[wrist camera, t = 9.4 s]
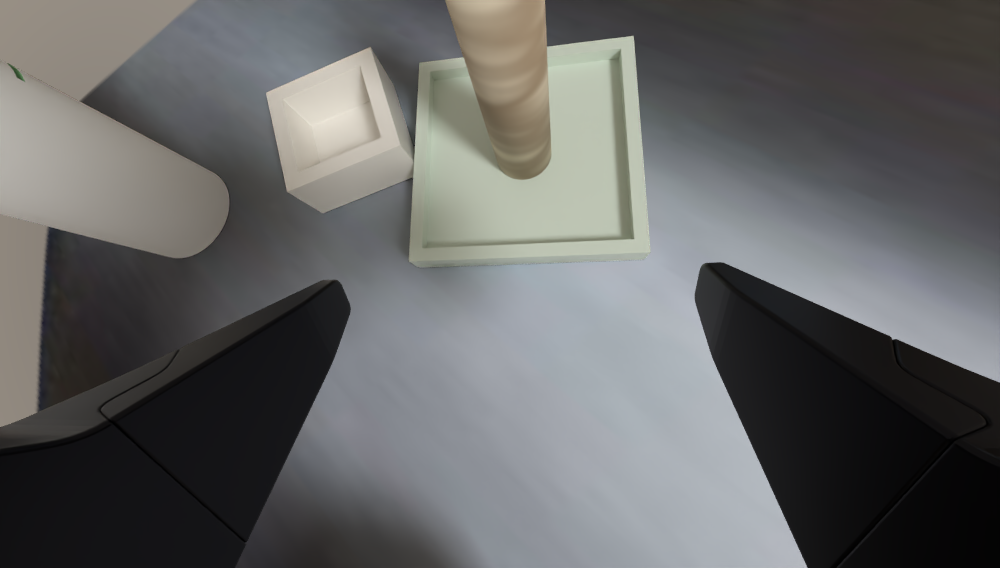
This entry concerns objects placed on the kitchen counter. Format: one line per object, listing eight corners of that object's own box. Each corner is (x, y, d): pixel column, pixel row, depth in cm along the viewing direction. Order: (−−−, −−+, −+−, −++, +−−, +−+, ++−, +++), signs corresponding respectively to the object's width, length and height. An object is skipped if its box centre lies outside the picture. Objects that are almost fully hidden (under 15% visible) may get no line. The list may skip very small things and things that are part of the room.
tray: (644, 259, 22) (650, 252, 20) (418, 267, 24) (408, 261, 22) (628, 56, 24) (633, 36, 23) (427, 79, 27) (419, 62, 25)
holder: (421, 173, 25) (400, 145, 22) (322, 213, 26) (287, 191, 22) (394, 85, 27) (370, 46, 24) (302, 125, 28) (265, 92, 24)
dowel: (518, 190, 23) (458, -51, 9) (486, 152, 24) (388, -119, 10) (562, 156, 23) (566, -136, 9) (528, 119, 24) (487, -195, 10)
